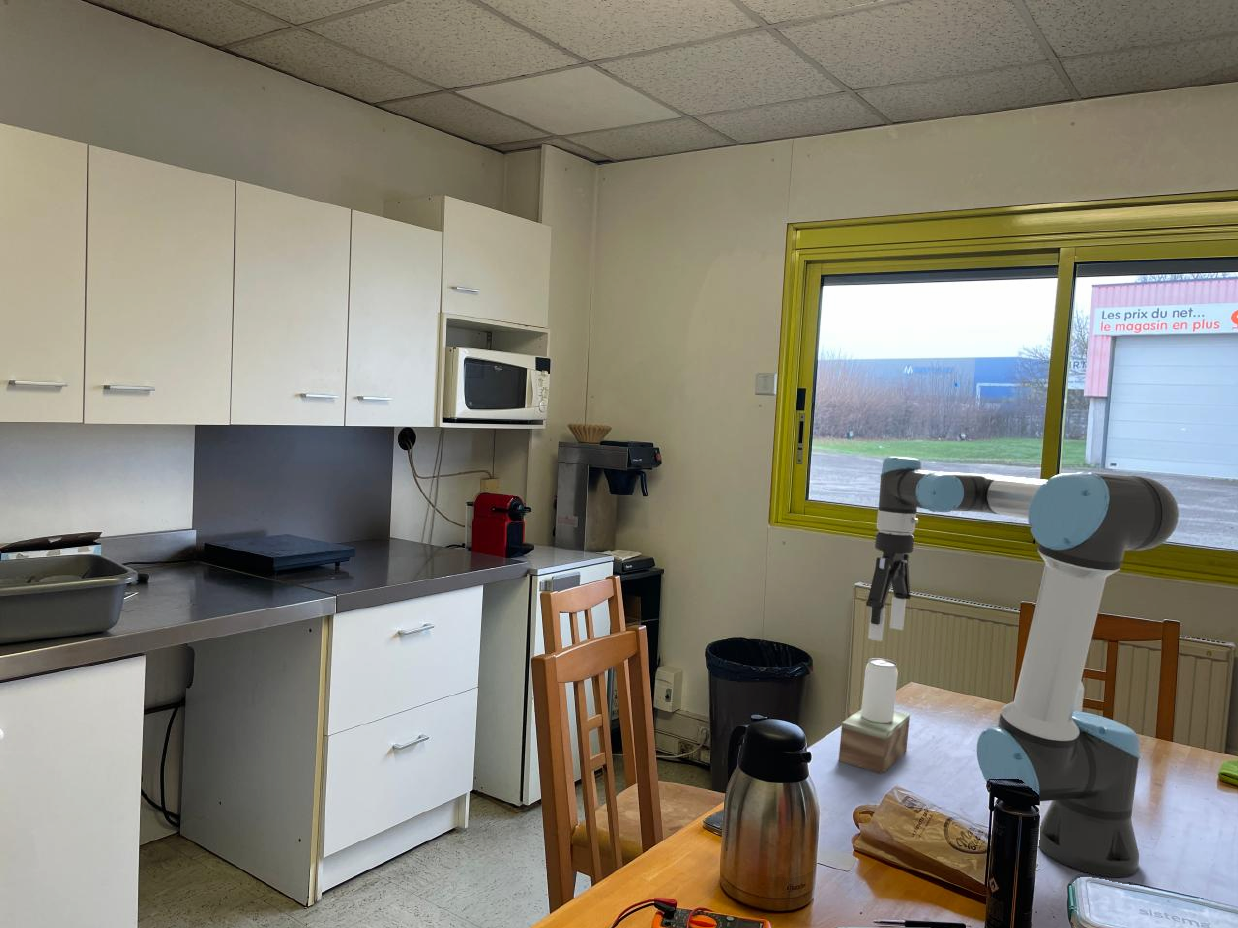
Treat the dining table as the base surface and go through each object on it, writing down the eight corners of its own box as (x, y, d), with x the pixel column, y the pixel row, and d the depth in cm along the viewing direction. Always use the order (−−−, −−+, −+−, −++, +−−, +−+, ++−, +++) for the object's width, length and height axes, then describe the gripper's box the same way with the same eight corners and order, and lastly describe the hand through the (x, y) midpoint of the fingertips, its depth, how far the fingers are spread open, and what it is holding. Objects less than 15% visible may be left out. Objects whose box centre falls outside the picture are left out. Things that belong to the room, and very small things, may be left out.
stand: (881, 773, 179) (885, 734, 178) (838, 760, 184) (842, 722, 183) (906, 751, 192) (910, 714, 191) (865, 739, 197) (868, 703, 196)
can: (889, 714, 190) (895, 659, 189) (895, 725, 184) (901, 668, 183) (858, 711, 191) (863, 656, 190) (863, 722, 184) (869, 664, 183)
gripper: (894, 539, 172) (884, 648, 173) (931, 530, 193) (921, 628, 194) (856, 534, 176) (847, 640, 178) (896, 525, 197) (887, 621, 198)
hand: (886, 634), depth 186 cm, fingers open, 13 cm apart
